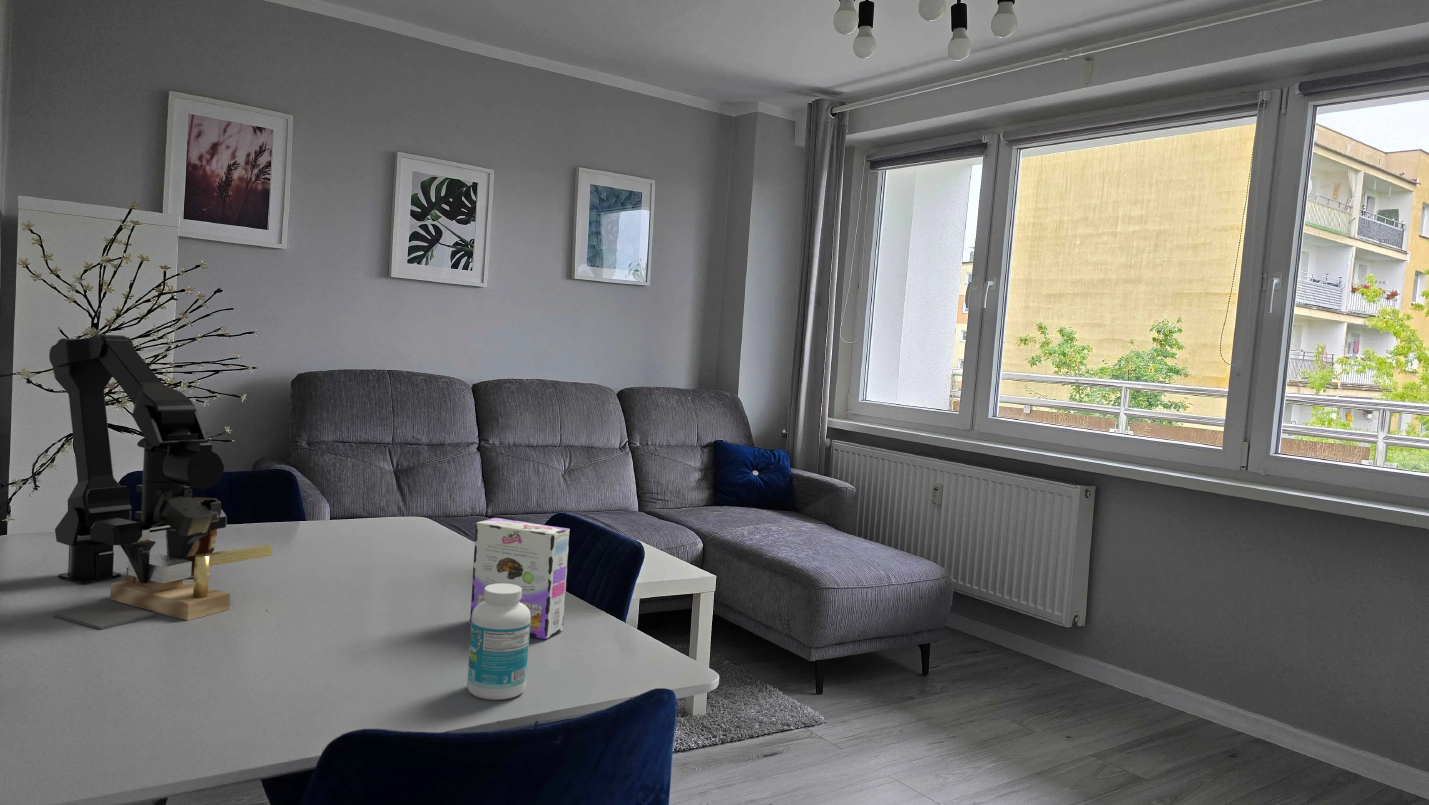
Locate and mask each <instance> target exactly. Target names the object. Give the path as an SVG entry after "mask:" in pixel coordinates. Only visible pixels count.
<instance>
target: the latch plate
mask: <svg viewBox="0 0 1429 805" xmlns="http://www.w3.org/2000/svg"><path fill="white" fill-rule="evenodd" d="M125 577H126V579H125V580H120V581H116V582H111V583H110V595H109V599H110V601H111V600H112V601H114V602H119V603H122V604H124V605H125V604H126V605H130V606H133V607H137V608H141V609H143V610H147V611H148V610H149V611H151V612H156V613H159V614H162V615H166V616H169V617H174V618H178V619H180V620H186V621H191V620H192V621H193V620H195V619H198V618H202V617H206V616H211V615H213V614H217V613H222V612H225V611H229V610H230V603H231V602H230V600H231V593H229V592H225V591H220V590H217V589H213V588H209V587H208V596H206V597H193V584H194V583H190V582H189V583H188V582H186V581H184V579H181V580H176V581H172V582H167V583H158V582H154V581H150V580H147V583H145V584H143V583H140V581H139V579H138V577H135V576H131V575H128V567H126V576H125Z"/></svg>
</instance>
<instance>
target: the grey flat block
mask: <svg viewBox="0 0 1429 805" xmlns="http://www.w3.org/2000/svg"><path fill="white" fill-rule="evenodd" d="M127 568H128V575H131V576H135V577H137V575H136V573H135V571H134V569H133V567H132V565H131V563H130V561H129V560H128V567H127ZM191 568H192V561H188V560H184V559H179V558H175V557H171V556H167V554H162V553H154V554H153V553H152V554H150V557H149V575H148V580H150V581H154V582H158V583H167V582H172V581H176V580H181V579H183V580H186V579H189V578H192V577H191Z"/></svg>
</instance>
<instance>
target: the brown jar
mask: <svg viewBox="0 0 1429 805" xmlns="http://www.w3.org/2000/svg"><path fill="white" fill-rule="evenodd" d="M211 498H212V497H200V496H199V497H197V496H195V497H193V500H195V501H200V500H202V501H204V500H205V499H211ZM221 510H223V509H222V508H221ZM207 532H208V534H207V535H206V536H203V537H201V538H200V539H198V540H197V541H196V542H195V543H194V544H193V546H192V548H191V549H190V551H189V553H188V556H187V558H186V560H188V561H192V568H191V577H190V578H194V564H195V555H198V554H208V553H214V552H215V551H214V550H215V545H216V540H217V535H218V534H217V533H218V529H214V530H210V529H208V531H207ZM165 541H166V555H167V556H169V550H168V537H167V530H165ZM210 575H211V570H210V568H209V576H210Z"/></svg>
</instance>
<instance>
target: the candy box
mask: <svg viewBox="0 0 1429 805" xmlns="http://www.w3.org/2000/svg"><path fill="white" fill-rule="evenodd" d="M570 530H571V529H570V528H568V527H567V528H566V527H559V526H552V525H545V524H539V523H538V524H537V523H533V522H527V521H526V522H525V521H520V520H512V519H507V518H506V519H505V518H500V517H499V518H498V517H493V518H487V519H485V520H481V521H477V522H475V531H474V532H475V534H474V552H473V564H472V565H473V566H472V567H473V568H472V579H471V580H472V582H471V599H470V615H469V616H470V618H469V625H470V626H471V618H472V612H473V610H474V608H475V607H476V606H477V605H479V604H480V603H483V602H485V599H484V589H485V587H486V586H488V585H491V584H500V583H505V584H514V585H517V586H520V587H521V588H522V597H521V599H520V601H519V602H520V603H522V604H524V605H525V606H526V607H527V608H528V609H529V611H530V614H531V620H530V635H529V637H533V638H536V639H543V640H547V639H549V638H551V637H553V636H554V635H557V634H558V633H561V632H562V631H563V629H564V620H565V619H564V617H565V616H564V615H565V604H566V603H565V601H566V590H567V575H568V560H569V559H568V558H569V546H570Z"/></svg>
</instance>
